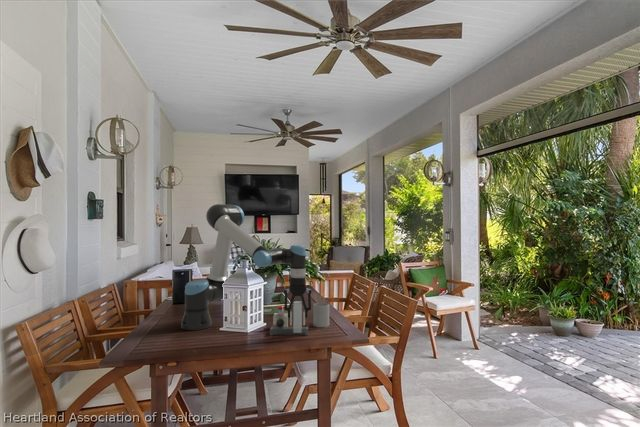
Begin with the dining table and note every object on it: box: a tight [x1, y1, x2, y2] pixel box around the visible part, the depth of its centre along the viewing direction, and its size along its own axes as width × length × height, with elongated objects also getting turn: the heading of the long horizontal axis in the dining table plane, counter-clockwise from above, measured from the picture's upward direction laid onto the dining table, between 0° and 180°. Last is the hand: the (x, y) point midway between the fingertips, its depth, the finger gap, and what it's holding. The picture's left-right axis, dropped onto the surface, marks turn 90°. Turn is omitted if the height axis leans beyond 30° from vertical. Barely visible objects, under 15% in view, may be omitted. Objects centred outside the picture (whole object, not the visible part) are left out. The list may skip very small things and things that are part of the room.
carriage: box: [292, 301, 303, 333], centre depth 186 cm, size 4×4×14 cm
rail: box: [269, 325, 309, 336], centre depth 186 cm, size 18×4×3 cm, turn 92°
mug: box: [312, 302, 330, 328], centre depth 204 cm, size 12×8×11 cm
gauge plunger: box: [276, 305, 284, 316], centre depth 195 cm, size 4×4×7 cm
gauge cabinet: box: [272, 312, 289, 327], centre depth 195 cm, size 7×6×7 cm
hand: (297, 324), depth 186 cm, fingers open, 6 cm apart
